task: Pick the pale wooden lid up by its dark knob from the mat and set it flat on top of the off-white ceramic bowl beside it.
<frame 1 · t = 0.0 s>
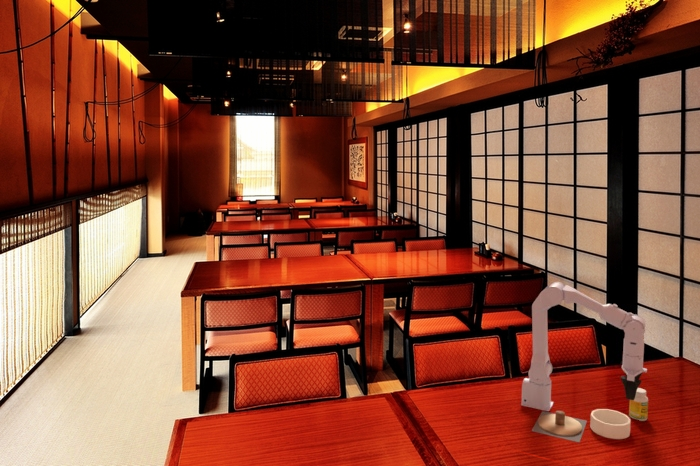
hand: (631, 394, 166), 10 cm above the table, tool pointing down, fingers open, 7 cm apart
lid: (559, 425, 166), resting on mat
bowl: (609, 432, 163), on the table
mat: (559, 427, 167), on the table
supplement bottle: (637, 418, 172), on the table
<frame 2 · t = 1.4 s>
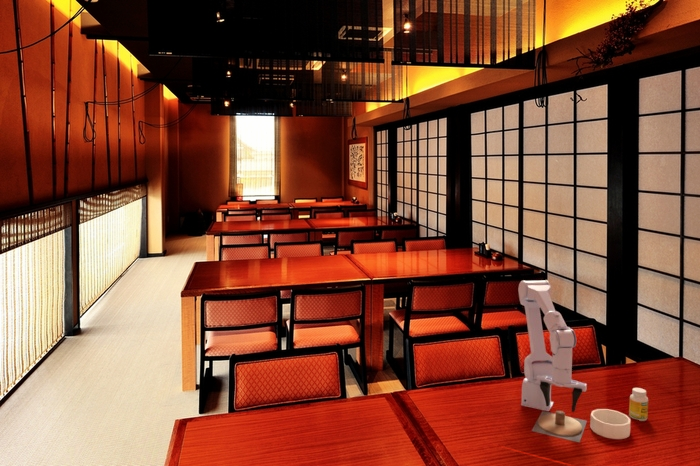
hand: (560, 407, 166), 7 cm above the table, tool pointing down, fingers open, 7 cm apart
nothing on the table moved.
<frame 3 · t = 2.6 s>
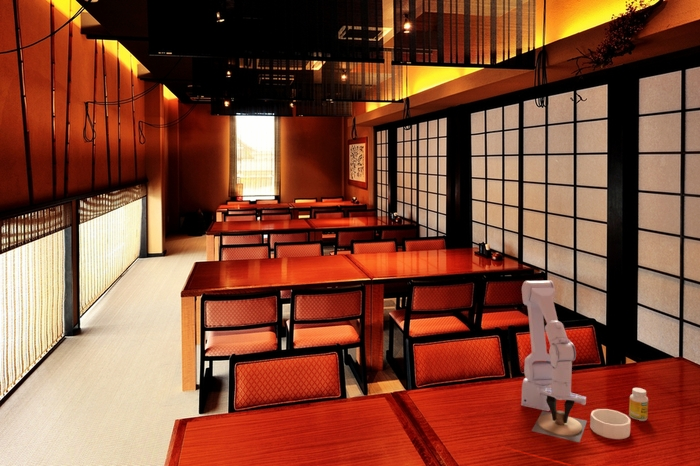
hand: (560, 420, 166), 2 cm above the table, tool pointing down, fingers closed on lid, 3 cm apart
lid: (559, 425, 166), resting on mat, touching gripper
everything else where it was.
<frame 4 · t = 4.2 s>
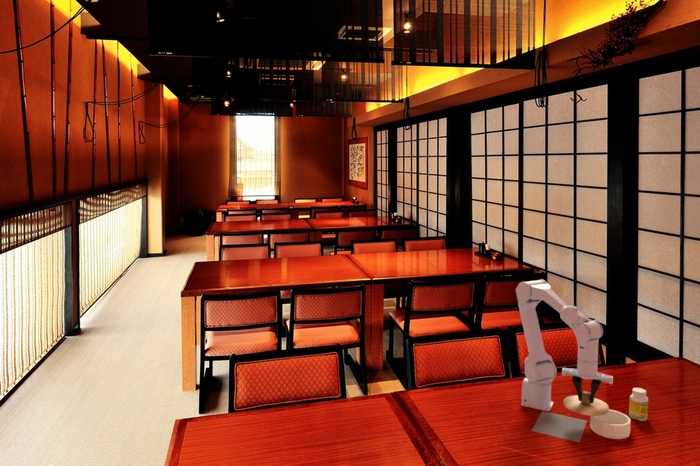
hand: (586, 400, 164), 9 cm above the table, tool pointing down, fingers closed on lid, 3 cm apart
lid: (585, 406, 164), point 8 cm above the table, touching gripper
everything else where it was.
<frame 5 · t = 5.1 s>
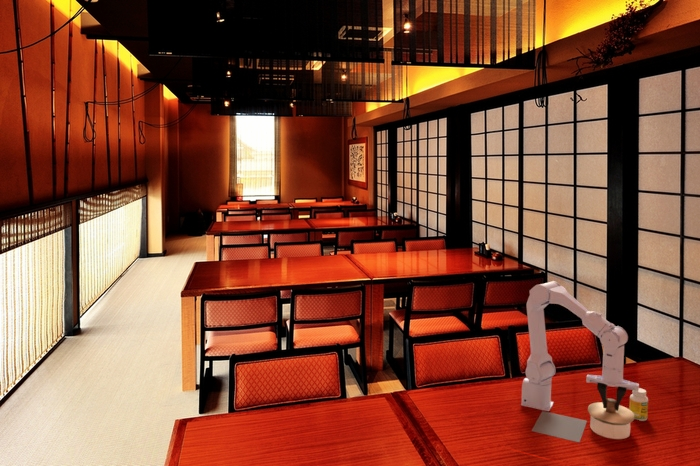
hand: (610, 408, 162), 8 cm above the table, tool pointing down, fingers closed on lid, 3 cm apart
lid: (610, 413, 163), point 6 cm above the table, touching gripper
everything else where it was.
when the fingers open (8 cm above the table, at t = 5.7 s): lid drops 1 cm, resting on bowl.
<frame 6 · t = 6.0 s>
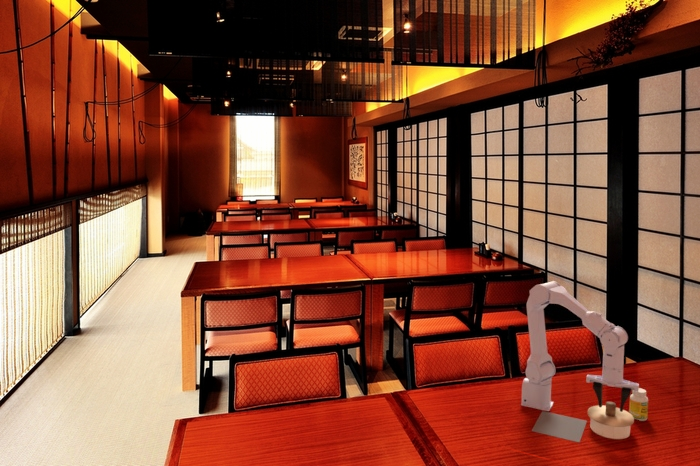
hand: (610, 408, 162), 8 cm above the table, tool pointing down, fingers open, 5 cm apart
lid: (610, 416, 163), point 5 cm above the table, touching bowl
bowl: (609, 432, 163), on the table, touching lid
everything else where it was.
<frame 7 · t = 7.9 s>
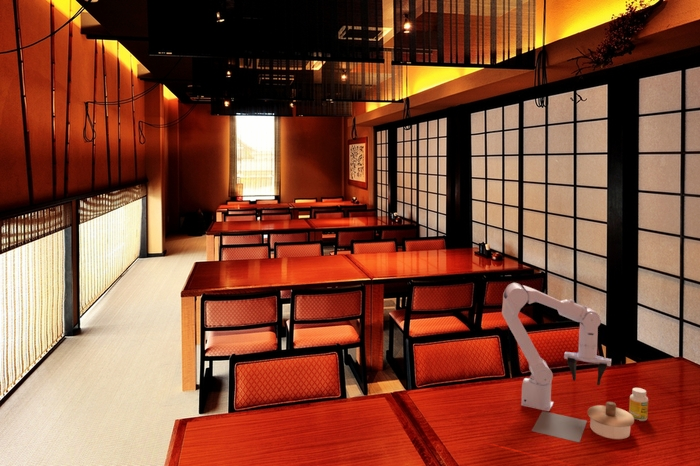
hand: (586, 381, 179), 9 cm above the table, tool pointing down, fingers open, 7 cm apart
nothing on the table moved.
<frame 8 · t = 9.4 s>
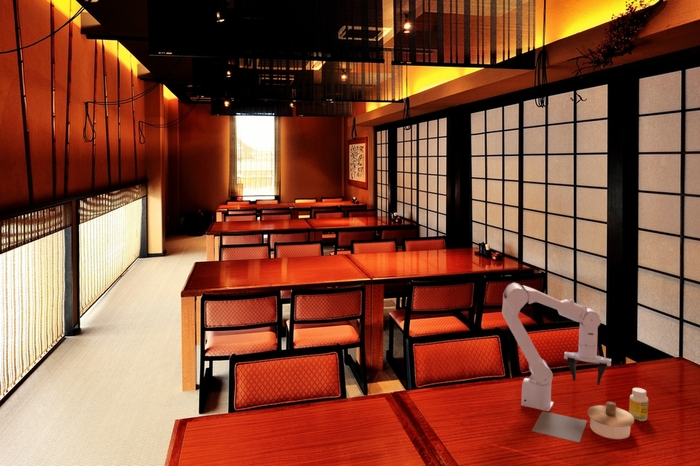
hand: (586, 381, 179), 9 cm above the table, tool pointing down, fingers open, 7 cm apart
nothing on the table moved.
at the end: lid 0.1 cm from the bowl (horizontally); lid point 4.8 cm above the table; lid tilted 0° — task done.
